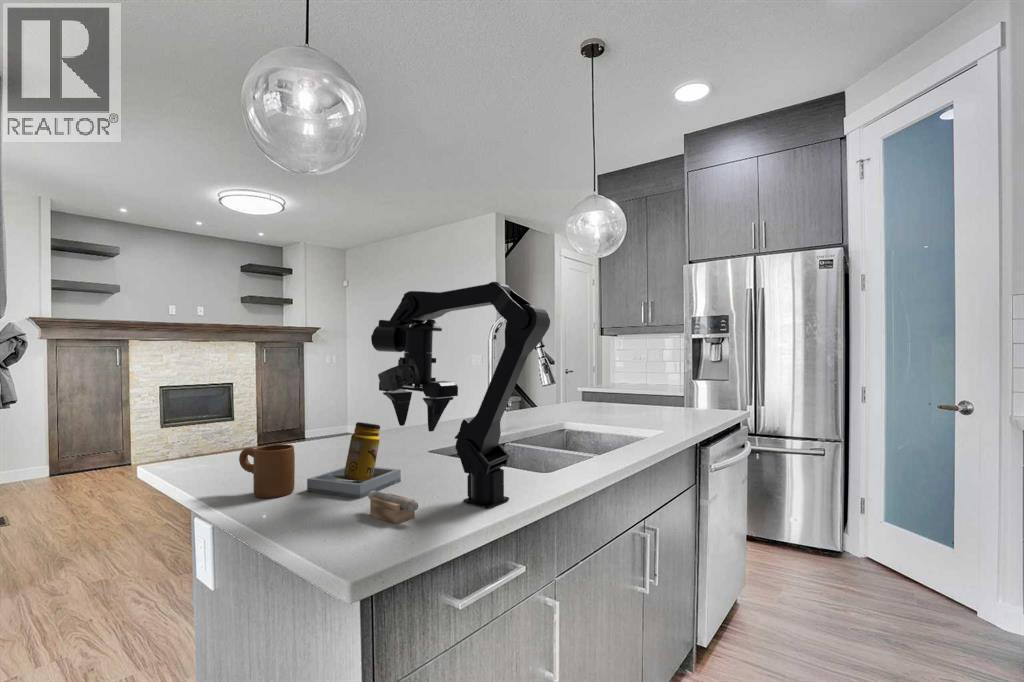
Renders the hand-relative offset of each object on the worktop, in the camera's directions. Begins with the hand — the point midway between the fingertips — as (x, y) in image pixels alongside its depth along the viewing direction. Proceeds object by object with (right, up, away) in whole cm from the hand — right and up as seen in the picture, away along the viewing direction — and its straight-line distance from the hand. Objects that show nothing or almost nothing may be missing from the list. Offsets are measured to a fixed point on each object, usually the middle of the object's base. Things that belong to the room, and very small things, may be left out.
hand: (416, 428), depth 101 cm
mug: (-31, -14, 0) cm, 34 cm away
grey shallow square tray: (-14, -13, +4) cm, 20 cm away
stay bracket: (-1, -13, -15) cm, 20 cm away
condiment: (-14, -12, +3) cm, 19 cm away
